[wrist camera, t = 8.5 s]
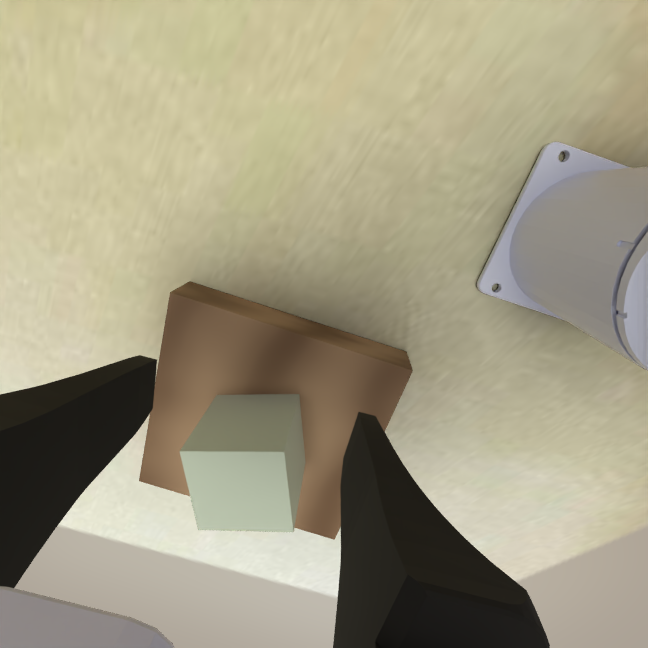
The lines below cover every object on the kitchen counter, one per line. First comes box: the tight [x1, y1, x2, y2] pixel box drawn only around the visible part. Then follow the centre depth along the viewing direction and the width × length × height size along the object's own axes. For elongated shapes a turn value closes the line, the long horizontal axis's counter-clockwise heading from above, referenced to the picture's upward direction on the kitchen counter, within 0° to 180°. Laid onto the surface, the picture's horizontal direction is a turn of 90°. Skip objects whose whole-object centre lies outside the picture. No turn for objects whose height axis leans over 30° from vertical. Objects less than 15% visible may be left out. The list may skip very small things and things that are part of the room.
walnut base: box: [139, 282, 413, 539], centre depth 24 cm, size 14×14×2 cm
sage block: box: [180, 394, 306, 532], centre depth 20 cm, size 5×5×5 cm
